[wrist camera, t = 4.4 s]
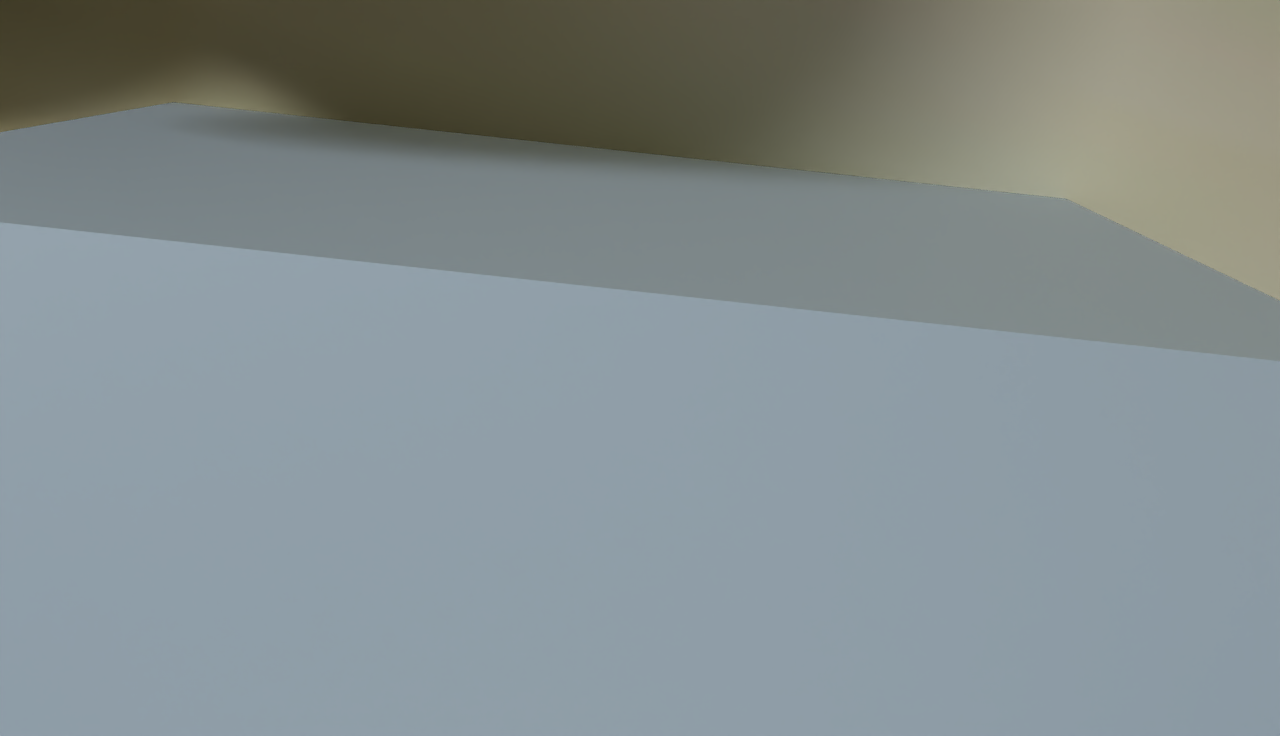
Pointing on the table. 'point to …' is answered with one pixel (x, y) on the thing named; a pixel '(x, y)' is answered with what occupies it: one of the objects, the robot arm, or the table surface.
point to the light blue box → (611, 447)
